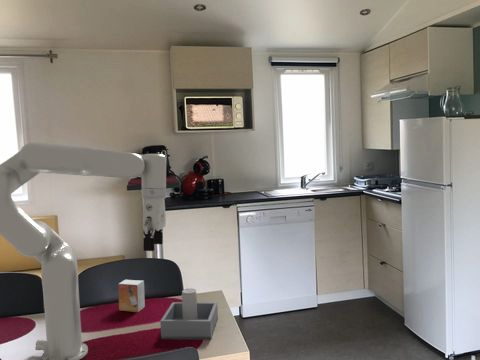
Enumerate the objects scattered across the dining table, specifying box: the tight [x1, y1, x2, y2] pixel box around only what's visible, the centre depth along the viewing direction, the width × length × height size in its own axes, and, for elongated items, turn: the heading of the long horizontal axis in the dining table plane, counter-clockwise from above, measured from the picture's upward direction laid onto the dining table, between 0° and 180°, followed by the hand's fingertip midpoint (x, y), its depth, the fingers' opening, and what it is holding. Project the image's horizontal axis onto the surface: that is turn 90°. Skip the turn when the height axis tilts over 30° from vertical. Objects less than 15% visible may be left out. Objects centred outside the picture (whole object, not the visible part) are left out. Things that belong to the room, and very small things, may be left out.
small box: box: [117, 279, 146, 313], centre depth 161 cm, size 8×6×10 cm
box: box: [159, 301, 219, 341], centre depth 142 cm, size 16×16×6 cm
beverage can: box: [181, 288, 198, 320], centre depth 141 cm, size 5×5×12 cm
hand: (153, 247), depth 134 cm, fingers open, 9 cm apart
